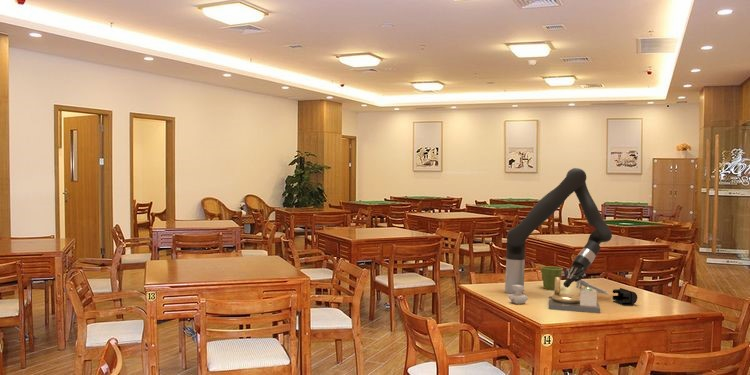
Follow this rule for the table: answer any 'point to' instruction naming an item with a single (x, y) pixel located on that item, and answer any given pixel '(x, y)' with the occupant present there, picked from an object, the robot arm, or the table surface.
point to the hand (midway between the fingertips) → (565, 286)
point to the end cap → (624, 297)
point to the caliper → (589, 286)
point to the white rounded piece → (518, 295)
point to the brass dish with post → (563, 297)
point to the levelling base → (572, 306)
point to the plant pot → (550, 276)
